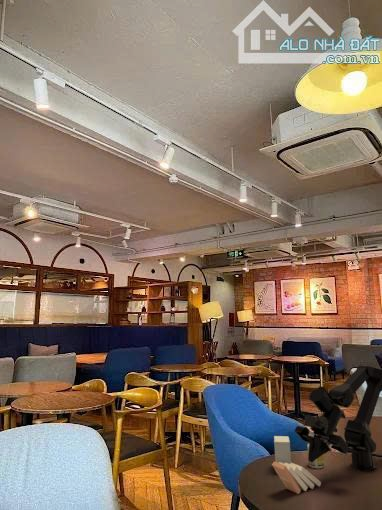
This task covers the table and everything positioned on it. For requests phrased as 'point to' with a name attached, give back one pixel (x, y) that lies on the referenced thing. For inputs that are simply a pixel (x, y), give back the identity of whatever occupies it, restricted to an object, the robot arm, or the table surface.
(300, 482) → the domino
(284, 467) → the domino
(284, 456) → the small box
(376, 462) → the table surface
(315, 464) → the supplement bottle
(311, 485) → the domino
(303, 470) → the domino
